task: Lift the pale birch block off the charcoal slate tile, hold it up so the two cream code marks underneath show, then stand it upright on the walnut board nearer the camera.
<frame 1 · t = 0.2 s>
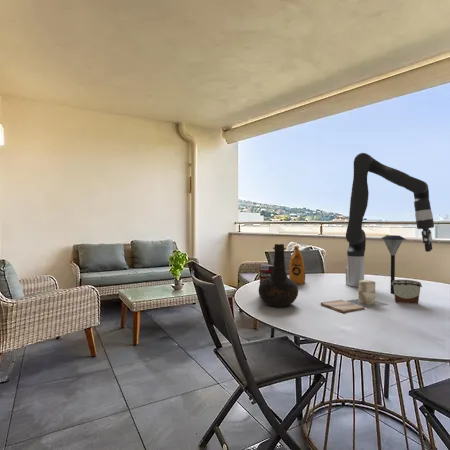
hand: (429, 250, 164), 22 cm above the table, tool pointing down, fingers open, 8 cm apart
glass bottle: (278, 304, 149), on the table
walnut board: (342, 307, 144), on the table
code tile: (366, 303, 150), on the table
solar garden light: (392, 293, 168), on the table
supplement box: (268, 296, 164), on the table
food container: (405, 302, 152), on the table
birch block: (366, 302, 150), resting on code tile
coffee package: (296, 282, 197), on the table
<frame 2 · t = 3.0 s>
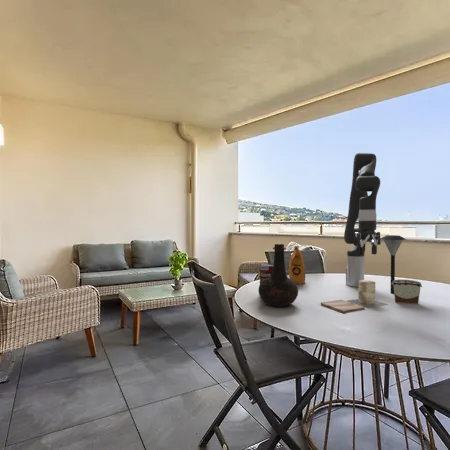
hand: (367, 254, 149), 23 cm above the table, tool pointing down, fingers open, 8 cm apart
nothing on the table moved.
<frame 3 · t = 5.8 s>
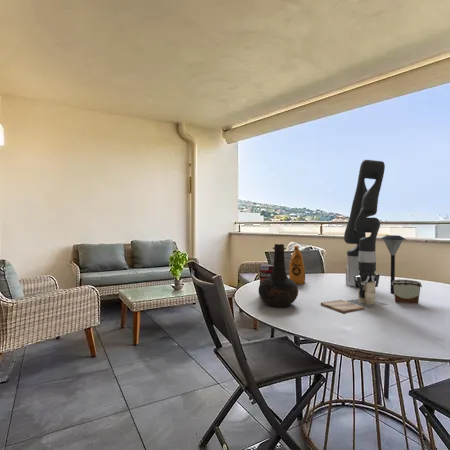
hand: (366, 296, 150), 3 cm above the table, tool pointing down, fingers closed on birch block, 5 cm apart
birch block: (366, 302, 150), resting on code tile, touching gripper
everything else where it was.
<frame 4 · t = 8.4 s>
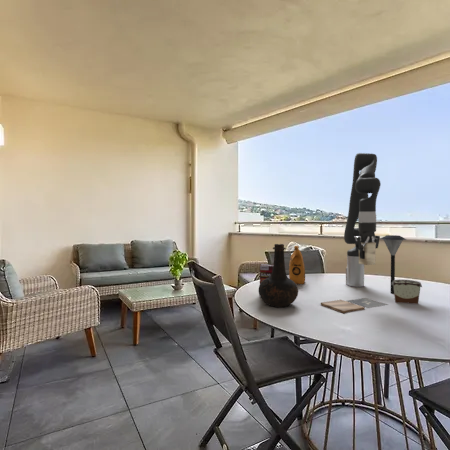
hand: (366, 258, 149), 21 cm above the table, tool pointing down, fingers closed on birch block, 5 cm apart
birch block: (366, 263, 149), point 18 cm above the table, touching gripper
everything else where it was.
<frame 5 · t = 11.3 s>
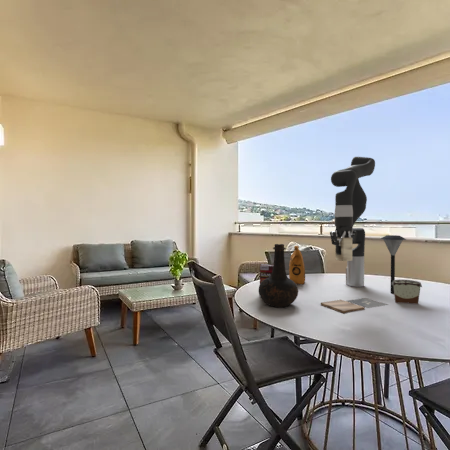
hand: (343, 254, 143), 24 cm above the table, tool pointing down, fingers closed on birch block, 5 cm apart
birch block: (343, 260, 143), point 21 cm above the table, touching gripper
everything else where it was.
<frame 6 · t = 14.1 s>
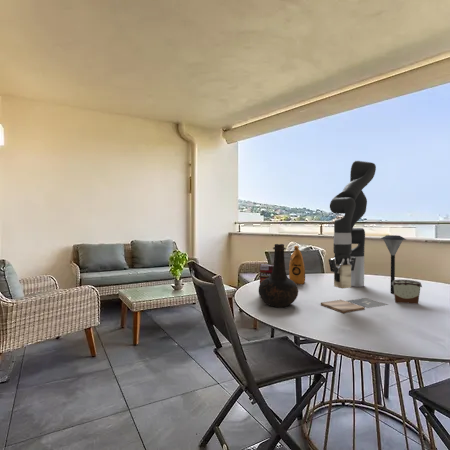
hand: (342, 280, 143), 12 cm above the table, tool pointing down, fingers closed on birch block, 5 cm apart
birch block: (342, 286, 143), point 9 cm above the table, touching gripper
everything else where it was.
when the fingers open (5 cm above the table, at t = 16.7 s): birch block drops 1 cm, resting on walnut board.
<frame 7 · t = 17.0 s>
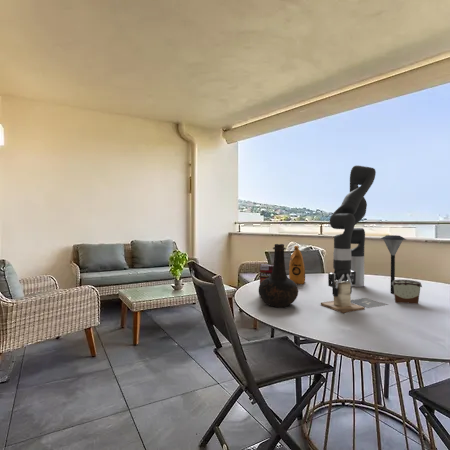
hand: (342, 295, 144), 5 cm above the table, tool pointing down, fingers open, 7 cm apart
birch block: (342, 304, 144), point 1 cm above the table, touching walnut board
everything else where it was.
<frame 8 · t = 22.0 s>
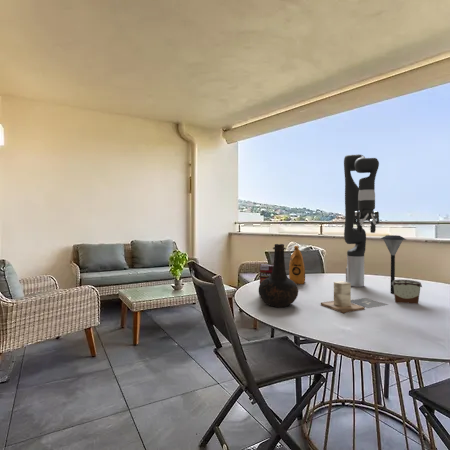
hand: (366, 233, 157), 32 cm above the table, tool pointing down, fingers open, 8 cm apart
nothing on the table moved.
at the end: birch block inside the target area on the walnut board (0.0 cm from its centre), point 1.0 cm above the walnut board's base; birch block tilted 0°; the gripper is holding nothing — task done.
